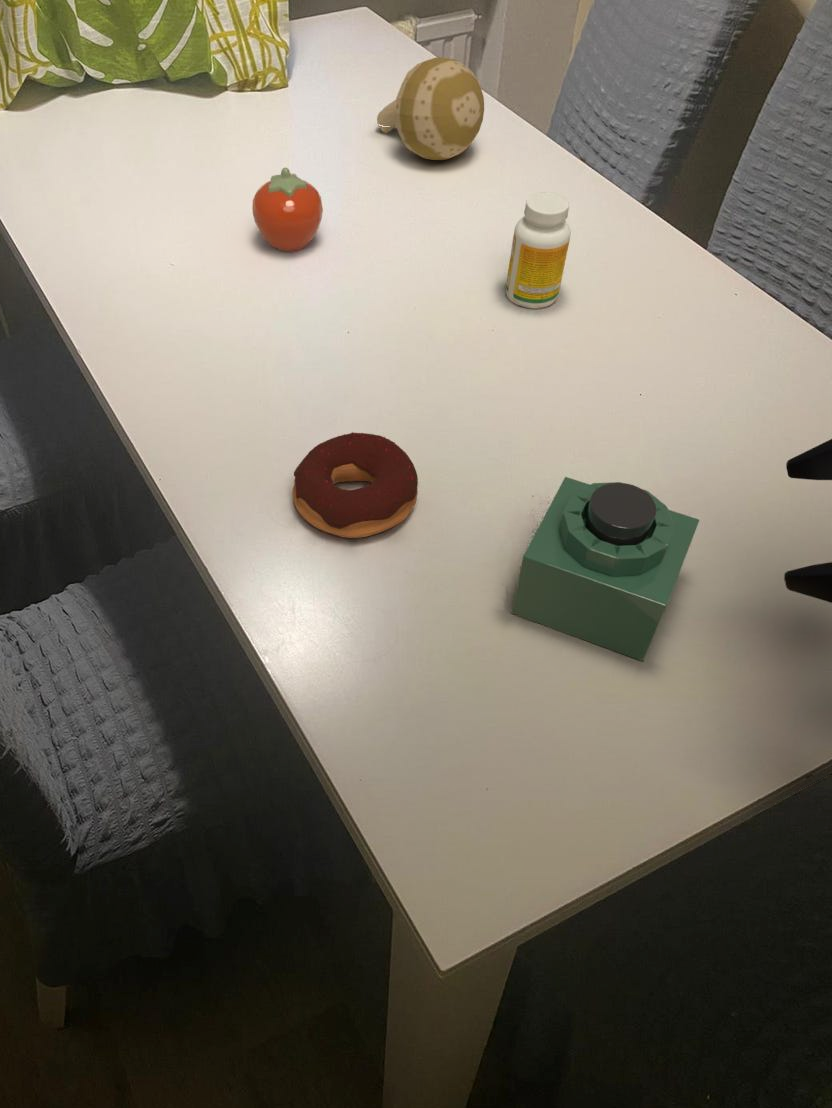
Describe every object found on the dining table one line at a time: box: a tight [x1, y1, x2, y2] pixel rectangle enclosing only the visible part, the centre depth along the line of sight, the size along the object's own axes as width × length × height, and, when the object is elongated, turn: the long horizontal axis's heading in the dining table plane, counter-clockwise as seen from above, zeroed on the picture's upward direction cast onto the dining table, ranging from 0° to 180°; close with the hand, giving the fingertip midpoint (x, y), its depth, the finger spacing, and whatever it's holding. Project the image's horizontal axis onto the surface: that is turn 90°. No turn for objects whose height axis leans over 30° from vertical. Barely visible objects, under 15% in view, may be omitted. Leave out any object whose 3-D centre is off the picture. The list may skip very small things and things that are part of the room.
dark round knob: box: [585, 482, 656, 546], centre depth 63 cm, size 4×4×2 cm
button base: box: [510, 476, 700, 662], centre depth 67 cm, size 10×9×8 cm
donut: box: [292, 431, 419, 539], centre depth 74 cm, size 10×10×4 cm
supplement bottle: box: [505, 191, 572, 309], centre depth 90 cm, size 5×5×10 cm
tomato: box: [251, 167, 324, 253], centre depth 97 cm, size 7×7×8 cm
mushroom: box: [376, 56, 485, 161], centre depth 110 cm, size 10×11×15 cm
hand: (786, 522), depth 53 cm, fingers open, 9 cm apart
